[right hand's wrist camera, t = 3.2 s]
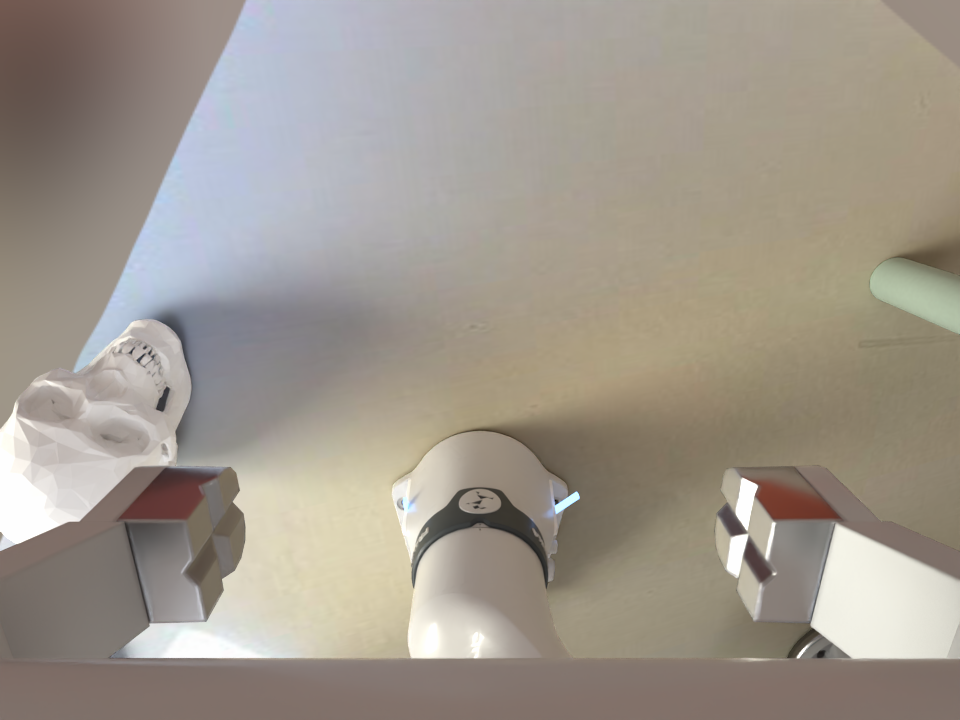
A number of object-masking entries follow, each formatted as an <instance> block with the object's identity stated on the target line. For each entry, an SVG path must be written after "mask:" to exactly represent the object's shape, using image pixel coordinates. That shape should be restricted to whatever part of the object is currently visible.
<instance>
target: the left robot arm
mask: <svg viewBox="0 0 960 720" xmlns="http://www.w3.org/2000/svg"><path fill="white" fill-rule="evenodd" d="M788 658H851V657H850V656H849V655H847V654H846V653H845V652H843V651H842V650H841V649H839V648H838V647H837V646H836V645H834V644H833V643H832V642H830V641H829V640H828V639H827V638H825V637H824V636H823V635H821V634H820V633H819V632H818V631H816V630H815V629H812V630H811V631H809V632H808V633H807V634H805V635H804V636H803V637H802V638H801V639H800V640H799V641H798V642H797V643H796V644H795V646H794V647H793V648H792V650H791V652H790V653H789V655H788Z"/></svg>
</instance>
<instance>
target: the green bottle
mask: <svg viewBox="0 0 960 720" xmlns="http://www.w3.org/2000/svg"><path fill="white" fill-rule="evenodd" d="M870 290H871V292H872V294H873V295H874V297H876V298H877V299H879V300H881V301H883V302H886V303H888V304H890V305H893V306H895V307H897V308H899V309H902V310H904V311H906V312H909V313H911V314H913V315H915V316H918V317H920V318H922V319H925V320H927V321H929V322H931V323H934V324H936V325H938V326H941V327H943V328H945V329H947V330H950V331H952V332H954V333H957V334H959V335H960V275H956V274H953V273H950V272H947V271H944V270H940V269H937V268H934V267H931V266H928V265H924V264H921V263H918V262H915V261H912V260H909V259H905V258H901V257H895V258H890V259H888V260H886V261H884V262H882V263H881V264H880V265H879V266H878V267H877V268H876V269H875V270H874V272H873V273H872V275H871V278H870Z"/></svg>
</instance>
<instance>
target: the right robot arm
mask: <svg viewBox="0 0 960 720" xmlns="http://www.w3.org/2000/svg"><path fill="white" fill-rule="evenodd" d="M239 491H240V489H239V484H238V479H237V475H236V472H235V471H234V470H233V469H232V468H231V467H199V466H168V465H165V466H140V467H134V468H133V469H132V470H131V471H130V472H129V473H128V474H127V475H126V476H125V477H124V478H123V479H122V480H121V481H120V482H119V483H118V484H117V485H116V486H115V487H114V488H113V489H112V490H111V491H110V492H109V493H108V494H107V495H106V496H105V497H104V498H103V499H102V500H101V501H100V502H99V503H98V504H97V505H96V506H94V507H93V508H92V509H91V510H90V511H89V512H88V513H87V514H86V515H85V516H84V517H83V518H82V519H81V520H80V521H79V522H67V523H65V524H62V525H60V526H58V527H55V528H53V529H51V530H48V531H46V532H44V533H42V534H39V535H37V536H35V537H32V538H30V539H28V540H25V541H23V542H21V543H18V544H16V545H14V546H12V547H9V548H7V549H5V550H2V551H0V720H960V551H958V550H955V549H953V548H951V547H948V546H946V545H944V544H941V543H939V542H937V541H935V540H932V539H930V538H928V537H925V536H923V535H921V534H918V533H916V532H914V531H912V530H909V529H907V528H905V527H902V526H900V525H898V524H895V523H893V522H881V521H880V520H879V519H878V518H877V517H876V516H875V515H874V514H873V513H872V512H871V511H870V510H869V509H868V508H867V507H866V506H865V505H864V504H863V503H862V502H860V501H859V500H858V499H857V498H856V497H855V496H854V495H853V494H852V493H851V492H850V491H849V490H848V489H847V488H846V487H845V486H844V485H843V484H842V483H841V482H840V481H839V480H838V479H837V478H836V477H835V476H834V475H833V474H832V473H831V472H830V471H829V470H828V469H827V468H825V467H822V466H819V465H812V466H781V467H740V468H727V469H726V471H725V473H724V475H723V478H722V484H721V489H720V491H721V492H722V494H723V495H724V497H725V499H726V500H727V503H726V504H725V505H724V506H723V507H722V508H721V509H720V510H719V511H718V512H717V514H716V522H715V530H714V533H715V544H716V550H717V553H718V556H719V559H720V561H721V563H722V565H723V567H724V569H725V571H727V572H728V573H730V574H731V575H733V576H734V577H736V578H737V579H738V583H737V589H736V591H737V593H738V594H739V596H740V598H741V600H742V602H743V603H744V605H745V607H746V609H747V610H748V612H749V614H750V616H751V618H752V619H753V621H754V622H780V623H811V625H810V626H811V627H812V628H814V629H815V630H816V631H818V632H819V633H820V634H821V635H823V636H824V637H825V638H827V639H828V640H829V641H830V642H832V643H833V644H834V645H836V646H837V647H838V648H839V649H841V650H842V651H843V652H845V653H846V654H847V655H849V656H850V657H851V658H573V657H572V656H571V655H570V653H569V652H568V651H567V649H566V648H565V646H564V645H563V643H562V642H561V640H560V638H559V636H558V634H557V632H556V629H555V626H554V622H553V619H552V615H551V611H550V607H549V602H548V597H547V592H546V588H547V583H548V582H551V581H553V578H554V573H555V561H554V560H553V559H550V556H551V554H556V553H557V548H558V542H557V540H555V539H556V536H557V532H558V529H559V526H560V522H561V519H562V515H563V512H564V508H566V507H567V506H569V505H570V504H572V503H573V502H575V501H576V500H578V499H579V494H578V493H577V492H575V493H574V494H572V495H571V496H569V497H568V486H567V484H566V483H565V482H564V481H563V480H561V479H560V478H558V477H557V476H555V475H553V474H552V473H550V472H548V471H547V470H546V469H545V468H544V467H543V466H542V464H541V463H540V461H539V460H538V459H537V457H536V456H535V455H534V454H533V453H532V451H531V450H529V449H528V448H527V447H526V446H525V445H523V444H522V443H520V442H519V441H517V440H515V439H513V438H511V437H509V436H506V435H503V434H500V433H495V432H488V431H472V432H465V433H460V434H457V435H454V436H451V437H449V438H447V439H445V440H443V441H441V442H440V443H438V444H437V445H435V446H434V447H433V448H432V449H431V450H429V452H428V453H427V454H426V455H425V456H424V457H423V459H422V460H421V461H420V463H419V464H418V466H417V467H416V468H415V469H414V470H413V471H412V472H410V473H408V474H407V475H405V476H403V477H402V478H400V479H399V480H397V481H396V482H395V483H394V484H393V486H392V498H393V501H394V505H395V508H396V512H397V515H398V519H399V522H400V525H401V529H402V532H403V536H404V539H405V543H406V546H407V549H408V553H409V556H410V560H411V563H412V564H411V567H412V583H413V588H414V594H413V601H412V608H411V615H410V622H409V630H408V647H409V653H410V656H411V658H109V657H110V656H112V655H113V654H114V653H116V652H117V651H118V650H119V649H121V648H122V647H123V646H125V645H126V644H127V643H128V642H130V641H131V640H132V639H134V638H135V637H136V636H138V635H139V634H140V633H141V632H143V631H144V630H145V629H147V628H148V627H149V626H150V625H149V623H179V622H206V621H207V619H208V618H209V616H210V614H211V612H212V610H213V609H214V607H215V605H216V603H217V602H218V600H219V598H220V596H221V594H222V593H223V591H224V589H223V583H222V579H223V578H224V577H226V576H227V575H229V574H230V573H232V572H233V571H235V569H236V567H237V565H238V563H239V561H240V559H241V557H242V552H243V548H244V544H245V520H244V514H243V512H242V511H241V510H240V509H239V508H238V507H237V506H236V505H235V504H234V503H233V500H234V499H235V497H236V495H237V494H238V492H239ZM554 499H557V501H556V502H554Z"/></svg>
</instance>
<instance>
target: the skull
mask: <svg viewBox="0 0 960 720" xmlns="http://www.w3.org/2000/svg"><path fill="white" fill-rule="evenodd" d="M140 343H141V344H140ZM139 344H140V345H139ZM138 345H139V346H138ZM144 346H146V347H147V348H146V349H145V350H144V349H143V347H144ZM133 347H135V349H134V350H133V352H132V355H131V354H129V352H130V351H131V350H132V349H133ZM150 350H152V352H151V354H150V355H148V352H149V351H150ZM143 354H146V355H144V357H143V358H142V360H141V361H140V364H139V363H138V362H137V361H136V360H137V359H138V358H139V357H140V356H142V355H143ZM152 355H154V356H155V357H154V359H153V360H152V361H151V362H149V361H150V360H151V359H152V357H151V356H152ZM148 362H149V363H148ZM147 363H148V364H147ZM146 364H147V365H146ZM157 364H158V365H157ZM145 365H146V366H145ZM143 366H145V368H144V367H143ZM152 375H153V376H152ZM166 386H167V387H169V388H170V391H169V394H168V397H167V401H166V406H165V410H164V411H163V412H161V411H158V410H156V407H157V404H158V401H159V398H160V397H162V395H163V391H164V389H165V388H166ZM191 388H192V386H191V379H190V375H189V371H188V368H187V365H186V362H185V359H184V355H183V350H182V345H181V341H180V339H179V338H178V336H177V335H176V333H175V332H174V331H173V330H172V329H171V328H170V327H168V326H166V325H165V324H163V323H161V322H159V321H157V320H154V319H142V320H135V321H133V322H132V323H131V324H130V325H129V326H128V327H127V329H126V330H125V331H124V332H123V333H122V334H121V335H120V336H119V337H118V338H116V339H115V340H113V341H112V342H111V343H110V344H109V345H108V346H107V347H106V348H105V349H104V350H102V351H101V352H100V353H99V354H98V355H97V356H96V357H95V358H94V359H93V360H92V361H91V362H90V363H89V365H87V366H86V367H84V368H83V369H81V370H80V371H78V372H77V373H72V372H70V371H67V370H65V369H63V368H60V367H59V368H57V369H54V370H51V371H49V372H47V373H45V374H42V375H40V376H39V377H37V378H36V379H35V380H34V381H33V382H32V383H31V384H30V385H29V387H28V388H27V389H26V390H25V391H24V392H23V393H22V394H21V396H20V397H19V398H18V399H17V400H16V402H15V406H14V411H13V413H12V415H11V417H10V418H9V420H8V421H7V422H6V423H5V424H4V426H3V427H2V428H1V429H0V531H1V532H2V533H3V534H4V535H5V536H6V537H7V538H9V539H10V540H11V541H13V542H15V543H16V544H18V543H21V542H23V541H25V540H28V539H30V538H32V537H35V536H37V535H39V534H42V533H44V532H46V531H48V530H51V529H53V528H55V527H58V526H60V525H62V524H65V523H67V522H79V521H80V520H81V519H82V518H83V517H84V516H85V515H86V514H87V513H88V512H89V511H90V510H91V509H92V508H93V507H94V506H96V505H97V504H98V503H99V502H100V501H101V500H102V499H103V498H104V497H105V496H106V495H107V494H108V493H109V492H110V491H111V490H112V489H113V488H114V487H115V486H116V485H117V484H118V483H119V482H120V481H121V480H122V479H123V478H124V477H125V476H126V475H127V474H128V473H129V472H130V471H131V470H132V469H133V468H134V467H140V466H165V465H168V466H176V460H177V448H178V444H177V443H176V434H175V431H176V429H177V427H178V425H179V422H180V420H181V418H182V416H183V414H184V412H185V409H186V407H187V405H188V403H189V400H190V395H191Z"/></svg>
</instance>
